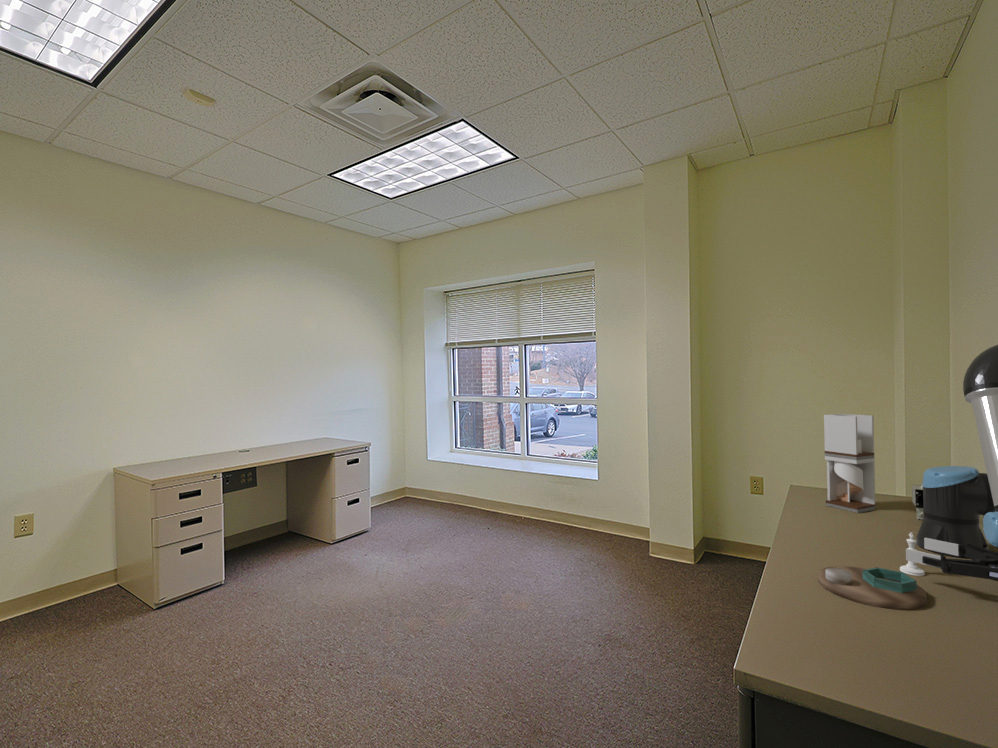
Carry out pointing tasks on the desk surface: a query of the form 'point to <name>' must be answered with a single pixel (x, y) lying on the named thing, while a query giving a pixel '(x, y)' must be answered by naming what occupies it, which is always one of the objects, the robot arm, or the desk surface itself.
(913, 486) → the pneumatic valve
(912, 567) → the chess piece
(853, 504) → the spiral staircase model
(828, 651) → the desk surface
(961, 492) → the robot arm
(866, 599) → the carrier
